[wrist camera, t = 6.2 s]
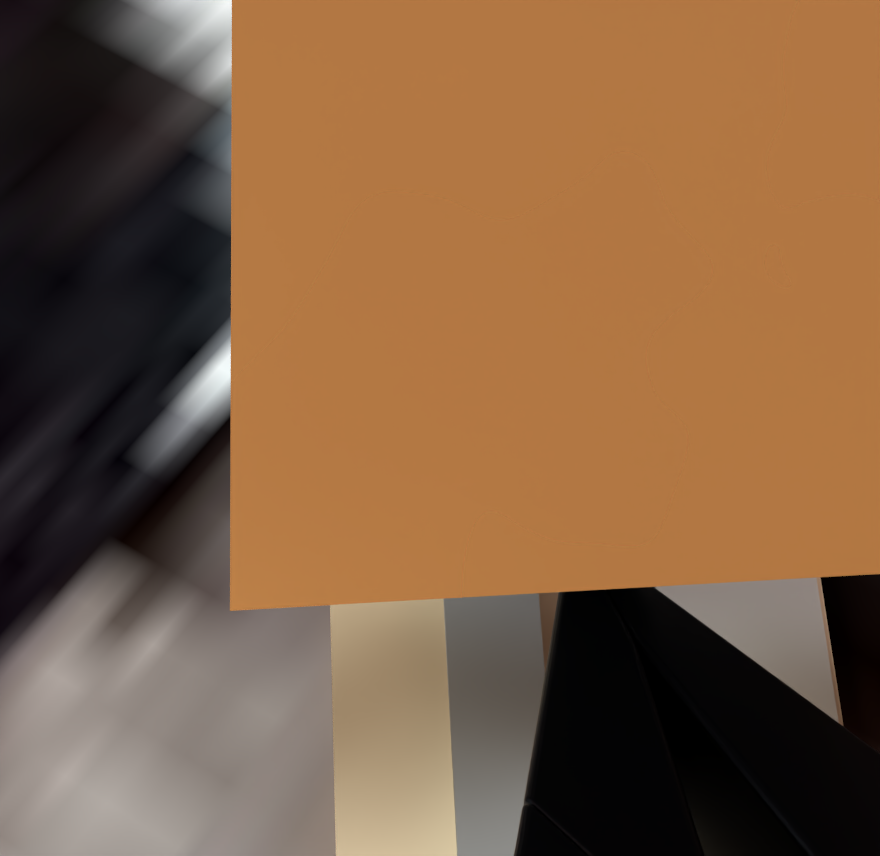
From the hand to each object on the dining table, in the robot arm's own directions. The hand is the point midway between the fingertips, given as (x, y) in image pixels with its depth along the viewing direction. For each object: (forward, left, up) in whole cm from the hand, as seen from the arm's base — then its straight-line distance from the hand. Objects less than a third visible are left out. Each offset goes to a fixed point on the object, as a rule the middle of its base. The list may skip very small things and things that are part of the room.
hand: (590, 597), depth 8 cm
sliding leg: (+2, -2, -7) cm, 8 cm away
